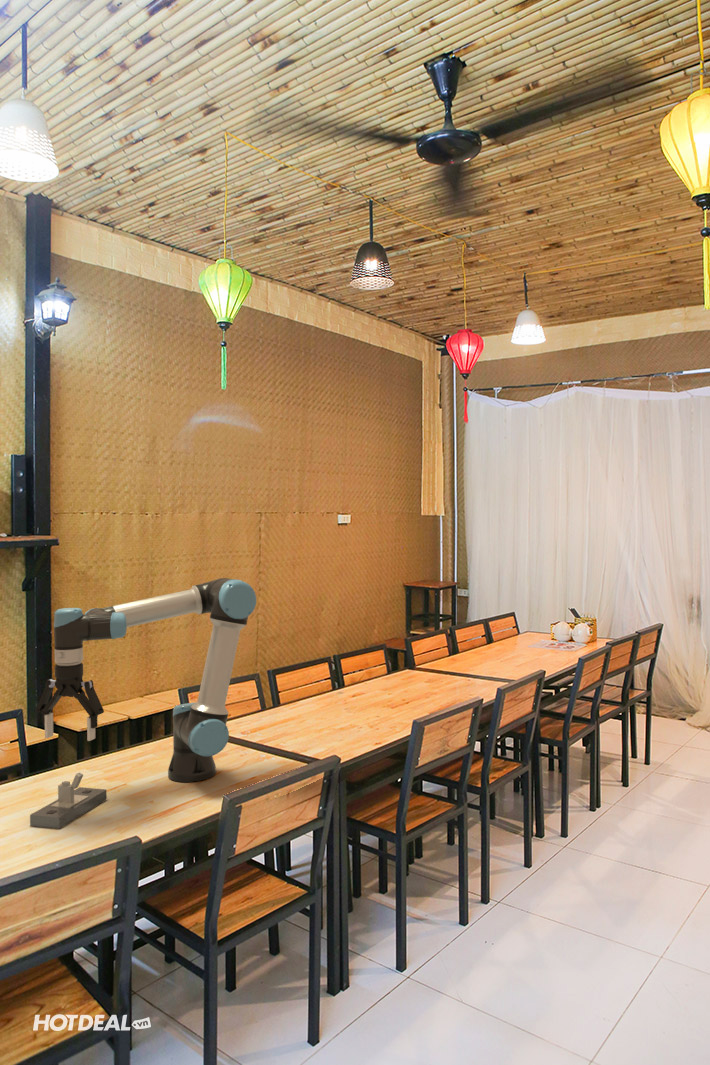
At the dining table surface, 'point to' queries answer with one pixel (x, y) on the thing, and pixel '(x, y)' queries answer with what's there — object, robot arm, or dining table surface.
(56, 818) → the dark grey rectangular base
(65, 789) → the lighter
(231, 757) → the dining table surface
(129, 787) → the dining table surface
